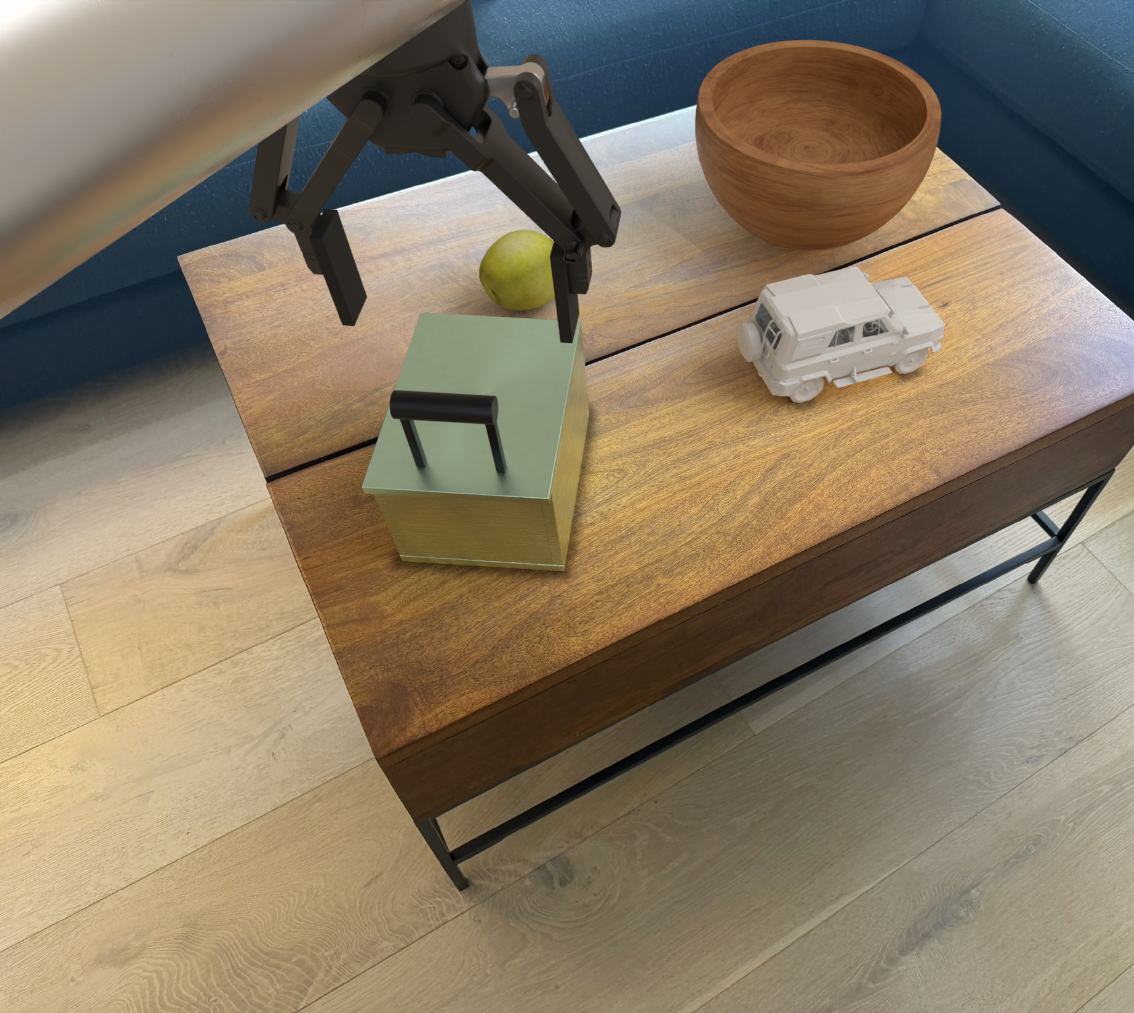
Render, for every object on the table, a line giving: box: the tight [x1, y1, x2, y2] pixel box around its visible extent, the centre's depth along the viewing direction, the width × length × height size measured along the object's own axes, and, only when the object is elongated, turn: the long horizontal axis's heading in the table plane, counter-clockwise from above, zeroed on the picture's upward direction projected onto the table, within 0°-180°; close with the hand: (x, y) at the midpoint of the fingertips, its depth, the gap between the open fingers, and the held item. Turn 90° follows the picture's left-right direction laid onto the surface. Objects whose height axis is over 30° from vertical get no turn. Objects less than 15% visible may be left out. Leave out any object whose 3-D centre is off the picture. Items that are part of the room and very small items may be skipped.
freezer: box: [372, 328, 590, 572], centre depth 76 cm, size 18×14×11 cm
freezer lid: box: [361, 312, 582, 505], centre depth 68 cm, size 19×14×8 cm
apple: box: [478, 229, 555, 311], centre depth 92 cm, size 8×9×8 cm
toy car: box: [736, 261, 946, 404], centre depth 86 cm, size 10×20×10 cm, turn 111°
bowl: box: [694, 39, 942, 251], centre depth 97 cm, size 25×25×15 cm
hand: (462, 319), depth 56 cm, fingers open, 13 cm apart
